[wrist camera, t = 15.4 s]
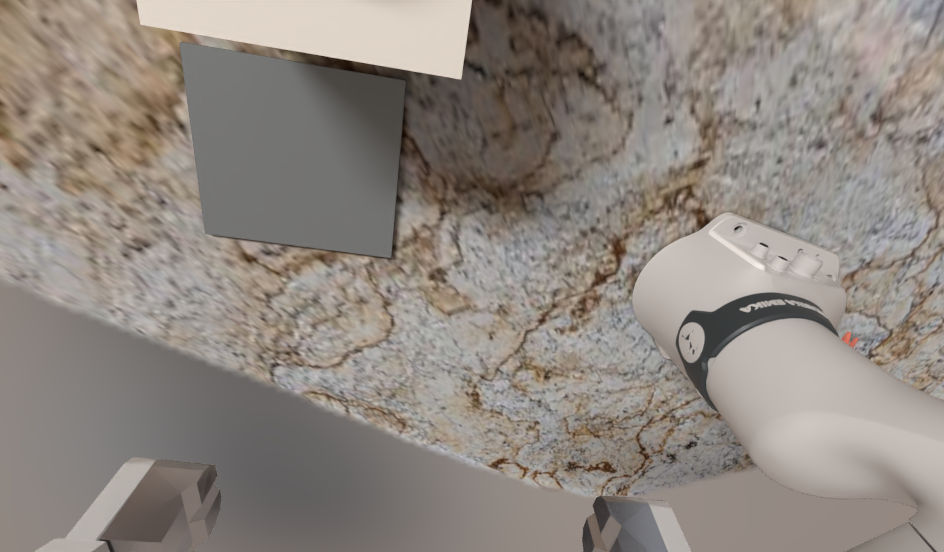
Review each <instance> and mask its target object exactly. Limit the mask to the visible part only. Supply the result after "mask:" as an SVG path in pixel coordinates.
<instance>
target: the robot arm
mask: <svg viewBox="0 0 944 552" xmlns="http://www.w3.org/2000/svg"><path fill="white" fill-rule="evenodd" d="M737 226H739V227H738V229H736V230H734V229H735V227H737ZM838 273H839V257H838V256H837V255H836V254H835V253H833V252H832V251H830V250H828V249H825V248H823V247H820V246H818V245H815V244H812V243H810V242H807V241H805V240H802V239H799V238H797V237H794V236H792V235H789V234H786V233H784V232H781V231H779V230H776V229H773V228H771V227H768V226H766V225H763V224H760V223H758V222H755V221H753V220H750V219H747V218H745V217H742V216H740V215H737V214H734V213H731V212H726V213H723V214H721V215H719V216H718V217H716V218H715V219H713V220H712V221H711V222H710V223H708V224H707V225H706V226H705V227H704V228H703V229H701V230H700V231H698V232H696V233H693V234H691V235H688V236H686V237H683V238H681V239H679V240H677V241H675V242H673V243H671V244H669V245H668V246H666V247H665V248H663V249H662V250H661V251H659V252H658V253H657V254H656V255H655V256H654V257H653V258H652V259H651V260H650V261H649V262H648V263H647V265H646V266H645V267H644V269H643V270H642V272H641V273H640V275H639V277H638V279H637V281H636V284H635V287H634V291H633V298H632V303H633V310H634V314H635V316H636V318H637V320H638V322H639V323H640V325H641V326H642V327H643V328H644V329H645V330H646V331H647V332H648V333H649V334H650V335H651V336H652V337H653V338H654V340H655V344H656V347H657V349H658V351H659V352H660V354H661V355H662V356H663V357H664V358H666V359H672V361H673V362H674V363H675V364H676V365H677V367H678V368H679V369H680V370H681V371H682V372H683V373H684V375H685V376H686V377H687V378H688V379H689V380H690V381H691V383H692V384H693V385H694V386H695V387H696V391H697V392H698V393H699V395H700V396H701V397H702V398H703V399H704V400H705V401H706V402H707V403H708V405H709V406H710V407H711V408H712V409H714V410H715V411H717V412H719V413H720V414H721V416H722V417H723V419H724V420H725V422H726V423H727V425H728V426H729V427H730V429H731V430H732V432H733V433H734V435H735V436H736V438H737V439H738V440H739V442H740V443H741V445H742V446H743V448H744V449H745V451H746V452H747V453H748V455H749V456H750V458H751V459H752V461H753V462H754V463H755V465H756V466H757V467H758V468H759V469H760V470H761V471H762V472H763V473H764V474H765V475H767V476H768V477H769V478H771V479H772V480H773V481H775V482H777V483H779V484H780V485H782V486H784V487H786V488H789V489H791V490H794V491H797V492H800V493H803V494H807V495H812V496H816V497H821V498H830V499H881V500H887V501H893V502H897V503H901V504H904V505H908V506H911V507H913V508H916V509H918V510H917V513H916V514H915V515H914V516H912V517H911V518H909V520H910V521H911V522H912V524H913V525H914V526H915V527H916V528H915V527H914V526H913V525H912V524H911V523H910V522H907V523H905V524H903V525H901V526H898V527H896V528H894V529H892V530H890V531H888V532H886V533H884V534H882V535H880V536H877V537H875V538H873V539H871V540H869V541H867V542H864V543H862V544H860V545H858V546H856V547H854V548H852V549H850V550H847V551H845V552H944V400H942V399H939V398H936V397H934V396H931V395H929V394H926V393H924V392H922V391H920V390H918V389H916V388H914V387H912V386H910V385H908V384H906V383H905V382H903V381H901V380H899V379H898V378H896V377H895V376H893V375H892V374H890V373H889V372H887V371H885V370H884V369H882V368H881V367H879V366H878V365H876V364H875V363H873V362H872V361H871V360H869V359H868V358H866V357H865V356H863V355H862V354H860V353H859V352H858V351H856V350H855V349H854V348H853V347H854V345H855V344H856V342H857V340H858V338H855V339H853V340H852V342H851V343H850V344H849V345H848V343H849V339H850V336H851V333H850V332H847V333H846V334H845V335H844V336H843V338H842V339H840V338H839V336H838V333H837V332H836V328H837V326H838V325H839V323H840V321H841V319H842V316H843V314H844V311H845V308H846V302H847V297H846V292H845V290H844V288H843V287H842V286H841V285H839V284H838V283H837V282H836V281H837V277H838ZM216 477H217V471H216V467H215V465H211V464H201V463H191V462H180V461H171V460H162V459H151V458H139V457H133V458H132V459H130V460H129V461H128V462H126V463H125V464H124V465H123V466H122V467H121V468H120V469H119V471H118V472H117V473H116V475H115V476H114V477H113V478H112V480H111V481H110V482H109V483H108V485H107V486H106V487H105V489H104V490H103V491H102V492H101V493H100V495H99V496H98V497H97V499H96V500H95V501H94V502H93V504H92V505H91V506H90V508H89V509H88V510H87V511H86V512H85V514H84V515H83V516H82V518H81V519H80V520H79V521H78V523H77V524H76V525H75V526H74V528H73V529H72V530H71V531H70V533H69V534H68V535H67V537H66V538H55V539H54V540H52V541H51V542H49V543H47V544H46V545H44V546H43V547H41V548H39V549H38V550H36V551H34V552H194V550H195V549H196V548H197V547H198V546H200V545H201V544H203V543H204V542H205V541H206V540H208V539H209V537H210V534H211V532H212V530H213V528H214V526H215V524H216V521H217V517H218V514H219V511H220V505H221V493H220V489H218V488H217V487H216V486H215V485H214V484H213V483H214V481H215V479H216ZM593 508H594V512H595V513H594V514H593V515H591V516H589V517H588V518H587V519H586V522H585V524H584V527H583V537H582V542H583V552H691V550H690V548H689V546H688V543H687V541H686V539H685V537H684V535H683V532H682V530H681V528H680V526H679V524H678V522H677V519H676V517H675V515H674V513H673V510H672V508H671V506H670V505H669V504H668V503H667V502H666V501H662V500H647V499H641V498H630V497H614V496H599V497H597V498H596V499H595V502H594V504H593Z"/></svg>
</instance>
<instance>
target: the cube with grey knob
mask: <svg viewBox="0 0 944 552" xmlns="http://www.w3.org/2000/svg"><path fill="white" fill-rule="evenodd" d="M471 4H472V0H137V6H138V12H139V18H140V24H141V25H146V26H152V27H157V28H163V29H169V30H175V31H181V32H187V33H192V34H198V35H204V36H210V37H216V38H222V39H227V40H233V41H239V42H245V43H251V44H257V45H262V46H268V47H274V48H280V49H286V50H292V51H297V52H303V53H309V54H315V55H321V56H327V57H332V58H338V59H344V60H350V61H356V62H362V63H367V64H373V65H379V66H385V67H391V68H397V69H402V70H408V71H414V72H420V73H426V74H432V75H437V76H443V77H449V78H455V79H461V78H462V71H463V63H464V56H465V49H466V41H467V34H468V26H469V19H470V12H471Z"/></svg>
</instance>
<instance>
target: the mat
mask: <svg viewBox="0 0 944 552" xmlns="http://www.w3.org/2000/svg"><path fill="white" fill-rule="evenodd" d="M180 50H181V57H182V65H183V72H184V80H185V87H186V95H187V102H188V110H189V117H190V124H191V132H192V139H193V147H194V154H195V162H196V169H197V177H198V184H199V192H200V199H201V207H202V214H203V221H204V229H205V234H211V235H219V236H226V237H234V238H242V239H249V240H257V241H264V242H272V243H280V244H287V245H295V246H303V247H310V248H318V249H326V250H333V251H341V252H348V253H356V254H364V255H371V256H379V257H387V258H391V256H392V246H393V234H394V222H395V210H396V198H397V186H398V174H399V162H400V149H401V137H402V125H403V113H404V101H405V89H406V80H402V79H396V78H390V77H384V76H378V75H373V74H367V73H361V72H355V71H349V70H343V69H337V68H331V67H325V66H320V65H314V64H308V63H302V62H296V61H290V60H284V59H278V58H273V57H267V56H261V55H255V54H249V53H243V52H237V51H231V50H226V49H220V48H214V47H208V46H202V45H196V44H190V43H184V42H180Z"/></svg>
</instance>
